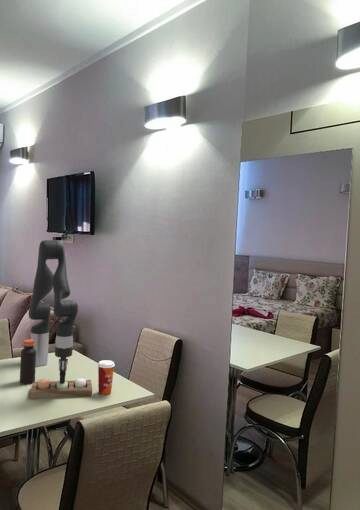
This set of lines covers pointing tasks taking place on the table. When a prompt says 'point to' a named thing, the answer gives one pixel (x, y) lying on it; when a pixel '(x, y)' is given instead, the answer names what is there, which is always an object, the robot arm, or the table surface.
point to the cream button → (80, 383)
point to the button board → (60, 390)
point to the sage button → (62, 385)
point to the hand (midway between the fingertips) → (62, 383)
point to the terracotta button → (43, 384)
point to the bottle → (28, 362)
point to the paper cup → (105, 376)
